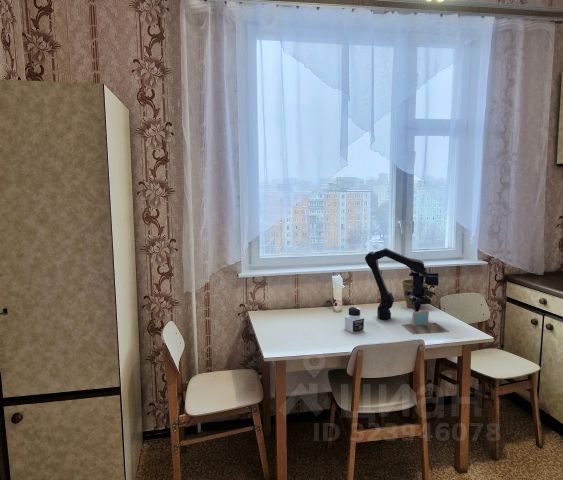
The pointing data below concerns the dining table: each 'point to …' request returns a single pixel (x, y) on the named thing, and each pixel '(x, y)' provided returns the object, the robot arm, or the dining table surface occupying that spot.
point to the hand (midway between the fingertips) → (416, 312)
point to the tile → (420, 318)
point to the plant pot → (407, 286)
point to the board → (425, 328)
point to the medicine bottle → (354, 321)
